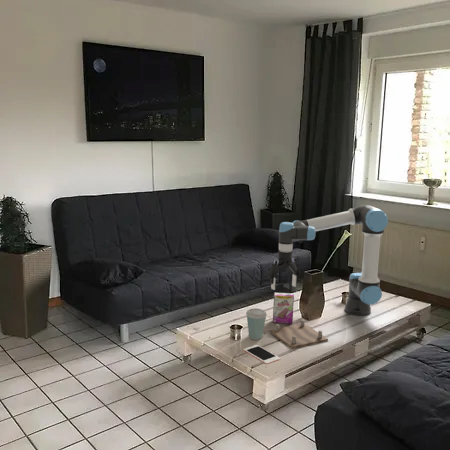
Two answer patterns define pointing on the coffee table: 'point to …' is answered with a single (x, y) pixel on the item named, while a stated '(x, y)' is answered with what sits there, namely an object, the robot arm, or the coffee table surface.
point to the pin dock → (298, 335)
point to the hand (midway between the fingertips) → (283, 287)
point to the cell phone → (261, 354)
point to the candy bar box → (283, 308)
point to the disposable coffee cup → (256, 322)
